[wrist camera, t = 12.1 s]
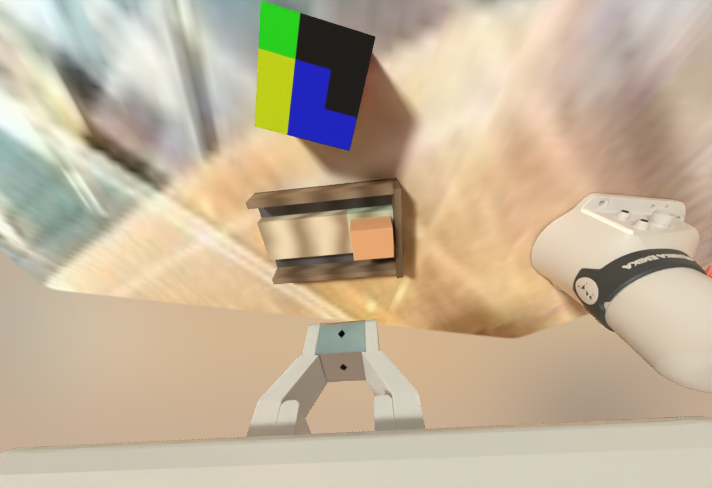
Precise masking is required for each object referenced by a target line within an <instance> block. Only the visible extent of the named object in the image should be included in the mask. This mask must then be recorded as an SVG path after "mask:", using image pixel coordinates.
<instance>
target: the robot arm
mask: <svg viewBox="0 0 712 488" xmlns="http://www.w3.org/2000/svg"><path fill="white" fill-rule="evenodd" d="M685 212H686V211H685V205H684V203H682V202H680V201H677V200H670V199H659V198H647V197H635V196H624V195H612V194H600V193H592V194H590V195H588V196H586V197H585V198H584V199H583V200H582V201H581V202H580V203H579V204H578V205H577V206H576V207H575V208H574V209H572V210H571V211H569V212H568V213H566V214H564V215H563V216H561V217H559V218H558V219H556V220H555V221H553V222H552V223H551V224H550V225H548V226H547V227H546V228H545V229H544V230H543V232H542V233H541V234H540V235H539V237H538V238H537V240H536V242H535V244H534V246H533V249H532V253H531V261H532V265H533V267H534V269H535V270H536V271H537V272H538V273H539V274H541V275H542V276H544V277H546V278H547V279H549V280H550V281H551V283H552V284H553V286H554V287H555V288H557V289H558V290H560V291H564V292H566V293H567V294H568V295H570V296H571V297H572V298H573V299H575V300H576V301H577V302H578V303H580V304H581V305H582V306H584V307H585V308H586V310H587V311H588V312H589V313H590V314H591V315H593V316H594V317H595V318H596V320H597V321H598V322H599V323H601V324H602V325H603V326H605V327H606V328H607V329H609V330H611V331H613V332H616V333H617V334H618V335H619V336H620V337H621V338H622V339H623V340H624V341H625V342H626V343H627V344H628V345H630V347H632V349H634V350H635V351H636V352H637V353H638V354H639V355H640V356H641V357H642V358H643V359H644V360H645V361H646V362H647V363H648V364H649V365H650V366H651V367H653V368H654V369H655V370H656V371H657V372H658V373H659V374H661V375H662V376H664V377H665V378H667V379H669V380H671V381H672V382H675V383H677V384H679V385H681V386H684V387H686V388H689V389H693V390H697V391H701V392H708V393H712V276H710V275H711V274H712V265H710V266H708V268H707V269H706V271H704V270H703V269H702V268H701V267H700V266H699V265H698V264H697V263H696V262H695V261H694V260H693V259H694V256H695V254H696V251H697V249H698V246H699V241H700V237H699V233H698V231H697V230H696V228H694V227H693V226H691V225H689V224H687V223H685V222H684V219H685ZM352 380H353V381H354V380H366V382H367V383H368V385H369V386H370V388H371V390H372V391H373V393H374V395H375V396H376V397H375V399H374V419H375V431H368V432H348V433H347V432H345V433H323V434H311V432H310V430H309V427H308V425H307V422H306V419H305V418H306V416H307V414H308V413H309V411H310V410H311V408H312V406H313V405H314V403H315V402H316V400H317V398H318V397H319V395H320V394H321V392H322V391H323V389H324V387H325V386H326V384H327V383H326V382H337V381H352ZM0 488H712V418H708V417H702V416H688V417H687V416H686V417H668V418H647V419H626V420H605V421H584V422H563V423H541V424H522V425H521V424H520V425H499V426H478V427H455V428H434V429H425V425H424V420H423V415H422V410H421V405H420V400H419V395H418V392H417V391H416V390H415V388H414V387H413V386H412V385H411V384H410V383H409V381H408V380H407V379H406V378H405V377H404V376H403V374H402V373H401V372H400V371H399V370H398V368H397V367H396V366H395V365H394V364H393V362H391V360H390V359H389V358H388V357H387V355H385V353H384V352H383V351H380V349H379V338H378V328H377V320H376V319H374V320H361V321H349V322H338V323H321V324H310V325H309V327H308V331H307V335H306V340H305V345H304V350H303V354H302V356H299V357H298V358H297V359H296V360H295V361H294V362H293V363H292V364H291V365H290V366H289V368H288V369H287V370H286V371H285V372H284V373H283V374H282V375H281V376H280V377H279V378H278V380H277V381H276V382H275V383H274V384H273V385H272V386H271V387H270V388H269V390H268V391H267V392H266V393H265V394H264V395H263V396H262V397H261V398H260V399H259V401H258V403H257V406H256V409H255V412H254V415H253V418H252V421H251V424H250V427H249V430H248V433H247V436H246V437H237V438H216V439H197V440H196V439H195V440H194V439H193V440H172V441H150V442H129V443H107V444H85V445H63V446H41V447H22V448H14V449H11V450H7V451H5V452H3V453H1V454H0Z"/></svg>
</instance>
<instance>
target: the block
mask: <svg viewBox="0 0 712 488" xmlns="http://www.w3.org/2000/svg"><path fill="white" fill-rule="evenodd" d="M350 236H351V243H352V250H353V257H354V261H356V260H368V259H379V258H391V257H394V246H393V227H392V223H391V219H390V215H389V216H379V217H369V218H358V219H351V222H350Z"/></svg>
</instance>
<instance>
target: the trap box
mask: <svg viewBox="0 0 712 488" xmlns="http://www.w3.org/2000/svg"><path fill="white" fill-rule="evenodd" d="M246 205H247V208H248V209H254V208H259V211H260V214H261V217H262V218H261V219H260V221H259V222H258V226H259V229H260V232H261V235H262V238H263V241H264V244H265V247H266V250H267V253H268V256H269V259H270V260H275V261H276V264H277V267H278V268H277V270H276V273H275V275H274V277H273V279H272V280H273V283H274V284H284V283H296V282H308V281H320V280H332V279H344V278H356V277H368V276H380V275H392V274H397V278H402V277H403V241H402V199H401V187H400V185H399V183H398V180H397V178H393V179H384V180H374V181H365V182H355V183H346V184H336V185H327V186H318V187H308V188H299V189H289V190H280V191H270V192H261V193H255V194H254V195H253V196H252V197H251V198H250V199H249V200H248V201H247V202H246ZM389 215H390V219H391V223H392V227H393V246H394V257H391V258H379V259H368V260H356V261H354V257H353V250H352V243H351V236H350V222H351V219H358V218H369V217H379V216H389Z"/></svg>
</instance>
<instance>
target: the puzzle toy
mask: <svg viewBox="0 0 712 488" xmlns="http://www.w3.org/2000/svg"><path fill="white" fill-rule="evenodd" d="M374 41H375V36H372V35H368V34H365V33H362V32H359V31H356V30H353V29H349V28H346V27H343V26H340V25H337V24H334V23H330V22H327V21H324V20H321V19H318V18H315V17H311V16H308V15H305V14H302V13H299V12H296V11H292V10H289V9H286V8H283V7H280V6H276V5H273V4H270V3H267V2H264V1H261V10H260V31H259V51H258V72H257V93H256V114H255V126H256V127H260V128H263V129H267V130H271V131H275V132H279V133H283V134H286V135H290V136H294V137H298V138H302V139H306V140H309V141H313V142H317V143H321V144H325V145H329V146H332V147H336V148H340V149H344V150H348V151H350V146H351V142H352V138H353V133H354V129H355V124H356V120H357V116H358V111H359V107H360V102H361V98H362V94H363V89H364V85H365V80H366V76H367V72H368V67H369V63H370V58H371V54H372V49H373V45H374Z"/></svg>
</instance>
